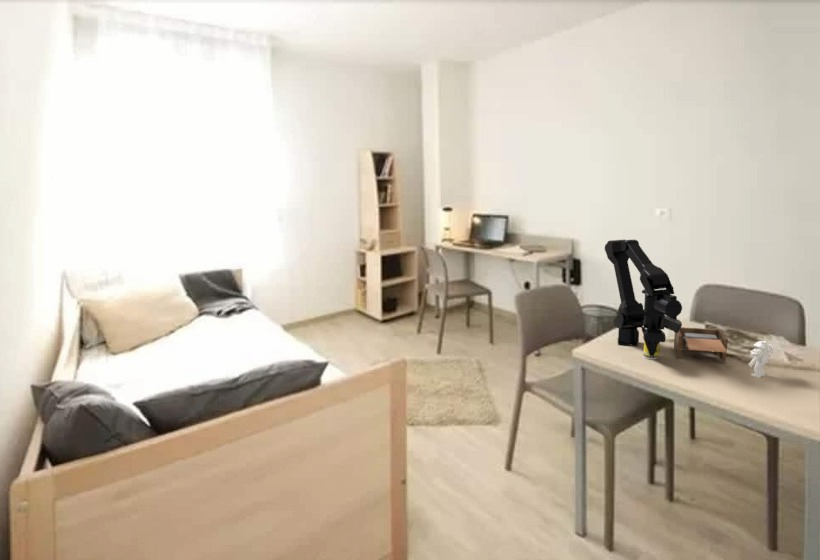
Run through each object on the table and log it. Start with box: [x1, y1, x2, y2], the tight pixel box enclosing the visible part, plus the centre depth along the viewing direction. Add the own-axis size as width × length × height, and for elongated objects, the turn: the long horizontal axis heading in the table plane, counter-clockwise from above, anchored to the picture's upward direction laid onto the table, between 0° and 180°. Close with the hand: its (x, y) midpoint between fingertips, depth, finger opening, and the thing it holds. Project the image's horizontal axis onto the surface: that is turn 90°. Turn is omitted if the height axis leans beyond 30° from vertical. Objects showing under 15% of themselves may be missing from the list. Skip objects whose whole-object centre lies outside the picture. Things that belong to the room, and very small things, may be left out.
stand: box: [673, 326, 729, 363], centre depth 165 cm, size 14×10×8 cm
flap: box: [683, 333, 726, 353], centre depth 159 cm, size 11×14×4 cm
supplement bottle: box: [642, 340, 661, 360], centre depth 165 cm, size 5×5×8 cm
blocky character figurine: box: [748, 340, 774, 379], centre depth 147 cm, size 9×4×12 cm, turn 117°
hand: (651, 352), depth 166 cm, fingers open, 6 cm apart
